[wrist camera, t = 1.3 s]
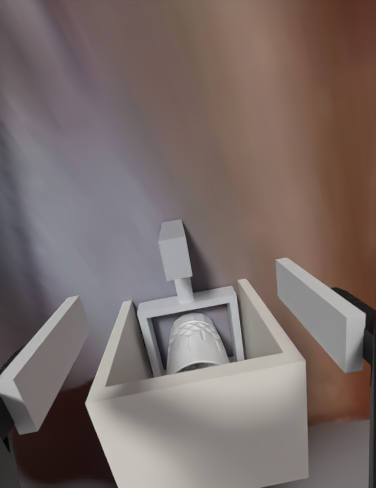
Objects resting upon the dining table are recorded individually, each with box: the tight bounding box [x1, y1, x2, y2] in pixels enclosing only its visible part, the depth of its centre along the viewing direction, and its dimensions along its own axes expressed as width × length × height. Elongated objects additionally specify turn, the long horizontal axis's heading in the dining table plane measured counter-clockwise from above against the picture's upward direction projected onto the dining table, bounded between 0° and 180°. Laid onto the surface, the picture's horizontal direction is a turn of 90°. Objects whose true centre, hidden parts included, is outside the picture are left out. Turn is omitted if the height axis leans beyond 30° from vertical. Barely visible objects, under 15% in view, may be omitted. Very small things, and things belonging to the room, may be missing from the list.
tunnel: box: [85, 279, 309, 488], centre depth 28 cm, size 14×17×15 cm
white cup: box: [166, 312, 230, 375], centre depth 30 cm, size 8×8×10 cm
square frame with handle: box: [137, 219, 244, 378], centre depth 29 cm, size 24×13×9 cm, turn 10°
